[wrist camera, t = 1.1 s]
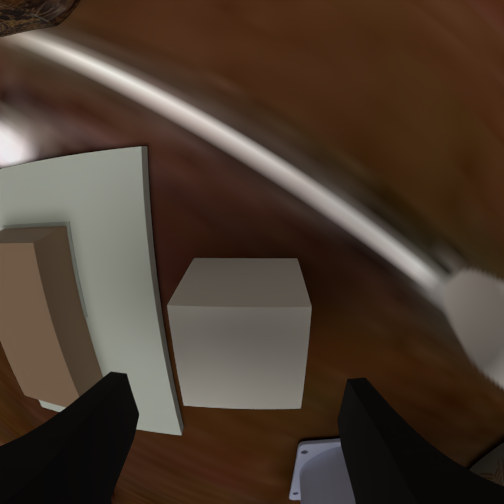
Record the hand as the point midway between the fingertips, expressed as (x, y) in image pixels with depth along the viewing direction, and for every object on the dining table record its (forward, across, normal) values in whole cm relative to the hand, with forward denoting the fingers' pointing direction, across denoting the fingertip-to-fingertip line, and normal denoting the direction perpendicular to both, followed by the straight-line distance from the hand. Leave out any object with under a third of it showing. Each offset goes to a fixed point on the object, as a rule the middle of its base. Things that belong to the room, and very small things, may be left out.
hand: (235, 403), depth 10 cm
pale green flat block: (+7, +10, +1) cm, 13 cm away
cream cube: (+7, 0, 0) cm, 7 cm away
